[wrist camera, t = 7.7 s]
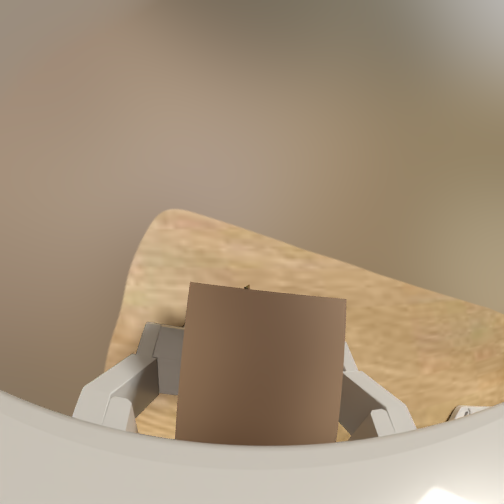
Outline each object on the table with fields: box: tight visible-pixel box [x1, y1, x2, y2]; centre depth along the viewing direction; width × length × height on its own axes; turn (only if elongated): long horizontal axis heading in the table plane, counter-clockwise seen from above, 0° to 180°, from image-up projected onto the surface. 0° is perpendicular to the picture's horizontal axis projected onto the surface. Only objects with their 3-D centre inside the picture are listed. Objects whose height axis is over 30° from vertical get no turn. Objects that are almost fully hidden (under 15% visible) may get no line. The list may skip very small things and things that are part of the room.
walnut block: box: [175, 282, 346, 446], centre depth 10 cm, size 4×4×8 cm
